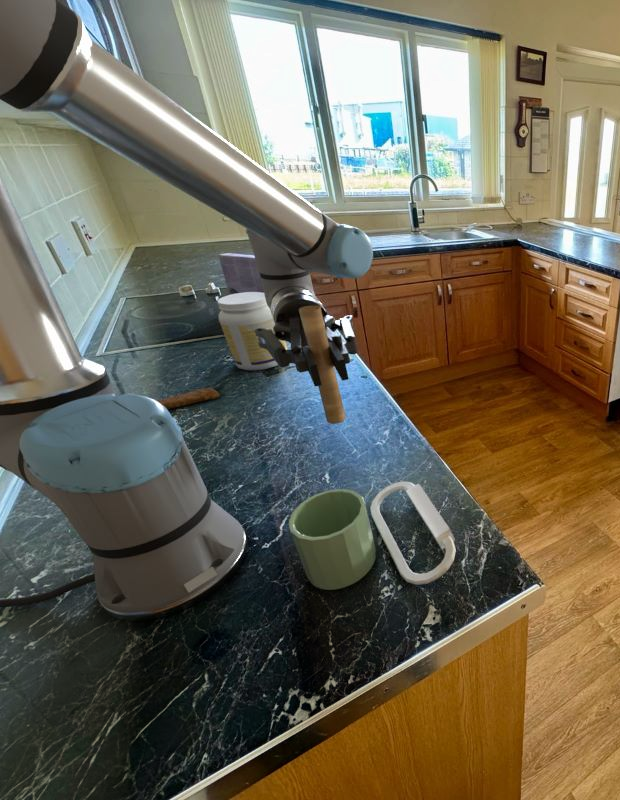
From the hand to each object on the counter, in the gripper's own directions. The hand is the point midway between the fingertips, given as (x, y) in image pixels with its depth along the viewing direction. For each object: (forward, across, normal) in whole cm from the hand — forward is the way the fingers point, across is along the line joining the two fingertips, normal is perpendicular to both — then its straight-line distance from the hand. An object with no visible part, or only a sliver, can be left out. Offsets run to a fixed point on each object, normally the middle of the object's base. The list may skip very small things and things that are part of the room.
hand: (329, 372), depth 51 cm
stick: (-5, 0, -10) cm, 11 cm away
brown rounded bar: (-55, +27, -25) cm, 66 cm away
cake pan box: (-120, +4, -25) cm, 122 cm away
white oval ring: (+6, -6, -25) cm, 26 cm away
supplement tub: (-71, +8, -25) cm, 75 cm away
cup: (+5, +4, -25) cm, 26 cm away
